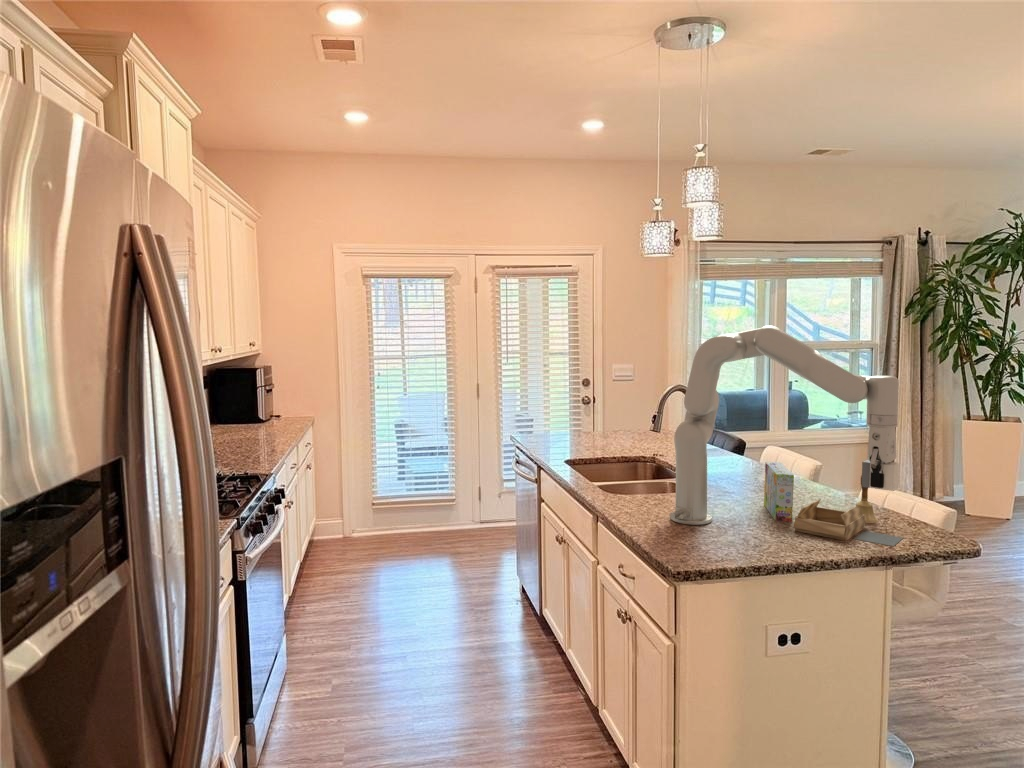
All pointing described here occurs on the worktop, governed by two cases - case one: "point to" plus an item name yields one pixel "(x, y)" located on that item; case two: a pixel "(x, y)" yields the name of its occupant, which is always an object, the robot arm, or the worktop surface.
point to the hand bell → (866, 506)
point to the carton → (829, 521)
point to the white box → (889, 475)
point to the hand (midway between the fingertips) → (880, 484)
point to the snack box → (778, 491)
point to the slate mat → (879, 538)
